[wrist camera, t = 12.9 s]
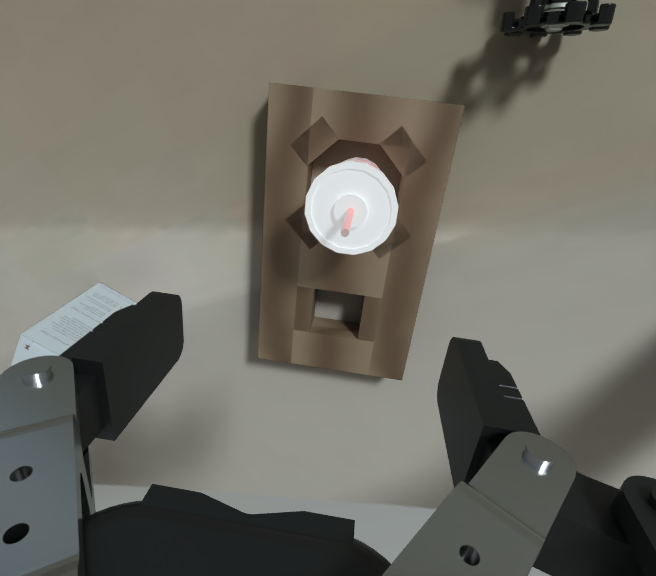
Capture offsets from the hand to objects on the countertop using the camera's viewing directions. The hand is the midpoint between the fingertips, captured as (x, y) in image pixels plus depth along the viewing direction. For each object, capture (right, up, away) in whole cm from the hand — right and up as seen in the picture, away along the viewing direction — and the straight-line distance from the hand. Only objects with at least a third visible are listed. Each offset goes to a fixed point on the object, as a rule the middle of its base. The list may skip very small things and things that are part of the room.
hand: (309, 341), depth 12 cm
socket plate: (+2, +6, +25) cm, 25 cm away
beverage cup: (+3, +10, +23) cm, 25 cm away
